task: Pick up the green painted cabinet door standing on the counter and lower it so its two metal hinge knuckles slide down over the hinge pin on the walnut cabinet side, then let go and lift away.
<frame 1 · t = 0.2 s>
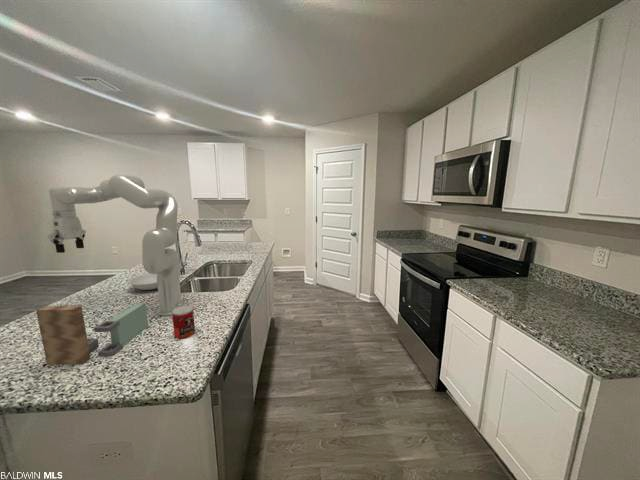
hand: (71, 250, 119), 31 cm above the countertop, tool pointing down, fingers open, 9 cm apart
canned food: (185, 334, 104), on the countertop
soup bowl: (152, 288, 156), on the countertop
door: (131, 336, 102), on the countertop
cabinet side: (78, 355, 90), on the countertop
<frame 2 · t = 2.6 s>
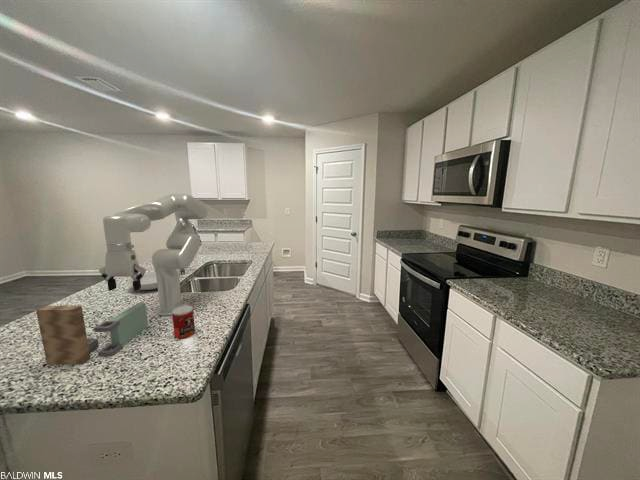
hand: (125, 289, 99), 20 cm above the countertop, tool pointing down, fingers open, 9 cm apart
nothing on the countertop moved.
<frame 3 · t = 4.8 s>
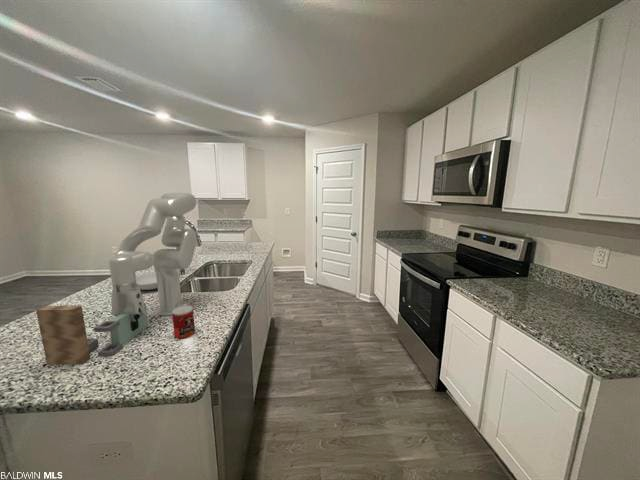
hand: (130, 328, 102), 3 cm above the countertop, tool pointing down, fingers closed on door, 3 cm apart
door: (131, 336, 102), on the countertop, touching gripper
everything else where it was.
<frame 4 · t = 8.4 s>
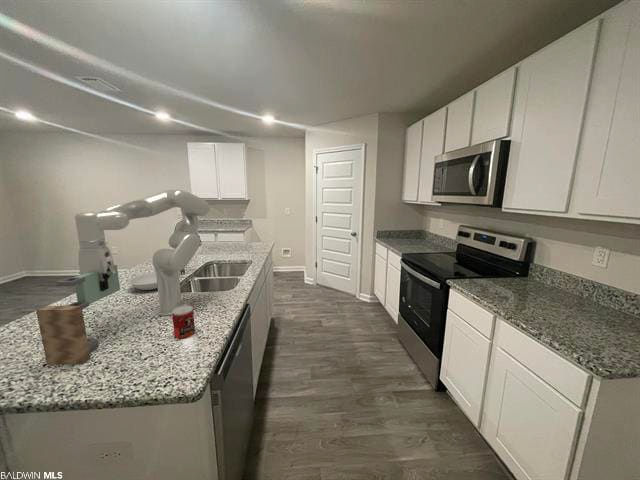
hand: (99, 289, 99), 20 cm above the countertop, tool pointing down, fingers closed on door, 3 cm apart
door: (100, 297, 99), point 17 cm above the countertop, touching gripper
everything else where it was.
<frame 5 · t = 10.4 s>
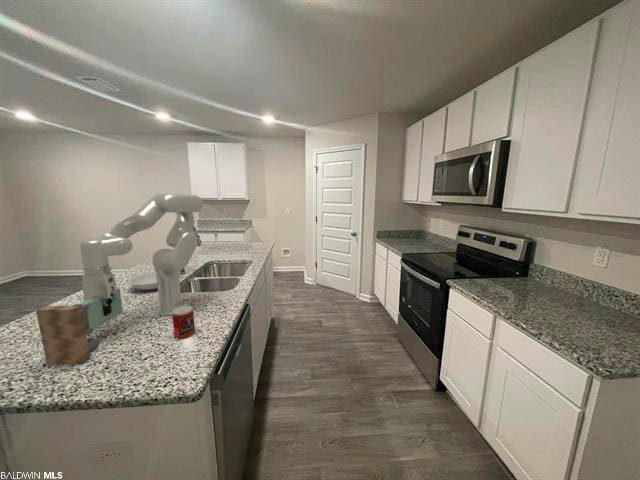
hand: (103, 313, 100), 10 cm above the countertop, tool pointing down, fingers closed on door, 3 cm apart
door: (104, 321, 101), point 7 cm above the countertop, touching gripper
everything else where it was.
when the fingers open (7 cm above the countertop, at t = 12.2 s): door stays where it is, resting on cabinet side.
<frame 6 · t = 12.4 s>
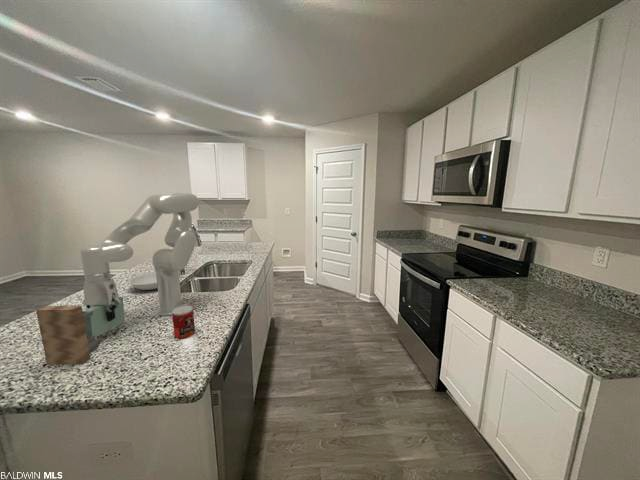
hand: (104, 319, 101), 7 cm above the countertop, tool pointing down, fingers open, 4 cm apart
door: (106, 329, 102), point 3 cm above the countertop, touching cabinet side
everything else where it was.
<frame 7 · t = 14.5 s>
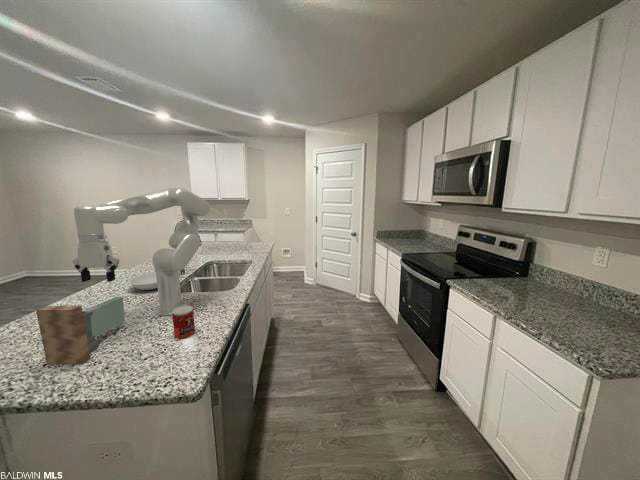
hand: (99, 280, 98), 24 cm above the countertop, tool pointing down, fingers open, 9 cm apart
nothing on the countertop moved.
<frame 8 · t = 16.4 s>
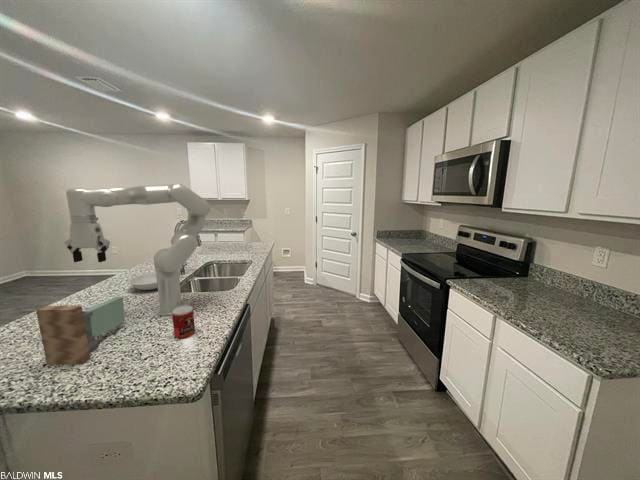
hand: (90, 261, 102), 30 cm above the countertop, tool pointing down, fingers open, 9 cm apart
nothing on the countertop moved.
at the end: door 0.0 cm from the target spot on the cabinet side, point 3.0 cm above the cabinet side's base; door tilted 4°; the gripper is holding nothing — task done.
